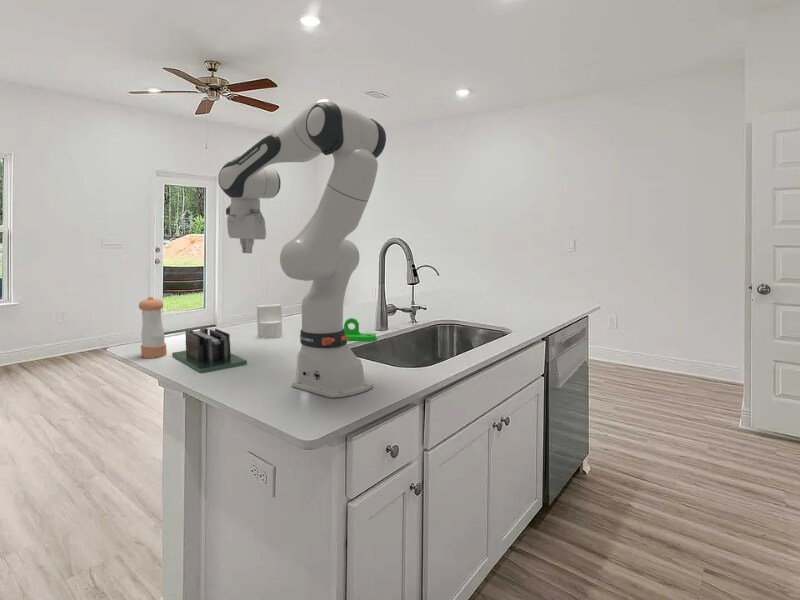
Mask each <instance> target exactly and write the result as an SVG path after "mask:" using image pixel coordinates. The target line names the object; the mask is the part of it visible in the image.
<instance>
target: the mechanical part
mask: <svg viewBox="0 0 800 600" xmlns="http://www.w3.org/2000/svg"><path fill="white" fill-rule="evenodd" d="M350 324H352V325H354V327H353V329H351V328H349V325H350ZM343 329H344V330H345V334H346V335H349V336H348V337H346V338H349V339H348V340H347V341H362V342H361V343H364V342H367V343H368V342H369V343H370V342H375V341H377V333H376V332H375V333H373V332H372V333H370V332H369V333H368V332H367V333H366V332H365V333H361V332H360V323H359V321H358V320H357V319H356V318H355V317H349V318H348V319H346V320H345V322H344V323H343Z"/></svg>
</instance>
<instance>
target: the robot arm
mask: <svg viewBox="0 0 800 600" xmlns="http://www.w3.org/2000/svg"><path fill="white" fill-rule="evenodd" d="M386 143H387V134H386V130H385V129H384V127H383V126H382V124H381V123H379V122H378V121H376V120H375V119H373V118H370V117H368V116H365V115H364V114H362V113H359V112H358V111H357V110H355V109H352V108H349V107H345V106H342V105H338V103H336V102H334V101H333V100H331V99H329V98H320V99H318V100H316V101H315V102H313V103H311V104H310V105H309V106H307V107H306V108H305V109H304V110H302V111H301V112H299V114H298V115H297V116H296V117H295V118H294V119H293V120H292V121H290V122H289V123H288V124H286V126H284V127H282V128H280V129H279V130H277V131H275V132H274V133H271V134H270V135H269V134H268V135H267V136H265V137H263V138H262V139H260V140H259V141H257V143H255V144H254V145H252V146H251V148H249V149H248V150H246V152H244V153H243V154H242V155H240V156H236V157H235V158H233V159H232V160H231V161H228V162H227V163H225V164H224V165H223V167H222V168H221V169H220V171H219V174H218V180H217V181H218V185H219V187H220V189H221V190H222V191H223V193H224V194H225V195H226V196H228V198H230V204H229V205H228V206H227V207H226V209H225V215H226V216H227V219H226V224H227V225H226V226H227V234H228V236H229V238H230V239H239V244H240V246H241V253H243V254H253V246H254V244H255V240H265V239H266V237H267V230H266V221H265V220H266V219H265V217H264V215H263V213H262V212H261V199H272V198H275V197H276V196H277V195H278V194H279V192H280V190H281V177H280V174H279V173H278V171H277V170H276V169H274V167H269V166H271V165H274V164H282V163H306V162H309V161H312V160H313V159H315V158H317V157H319V156H320V155H321V154H323V155H325V156H330V155H332V157H333V163H334V164H333V168H332V171H331V174H330V176H329V178H328V181H327V184H326V186H325V189H324V191H323V194H322V196H321V199H320V200H319V201H320V202H319V204H318V206H317V208H316V210H315V212H314V214H313V215H312V217H311V218H310V219H309V220H308V222H307V224H306V225H305V226H304V227H303V228H302V230H301V231H300V232H299V233H298V234H297V235H296V236H295V237H294V238H293V239H292V240H290V241H289V242H286V243H285V245H283V247H282V249H281V251H280V255H279V263H280V267H281V269H282V271H283V273H284V274H285V276H287V277H288V278H290V279H293V280H297V281H305V282H309V281H312V283H311V287H310V288H309V291H308V292H307V293H306V295H305V296H304V297H303V298H302V300H301V301H302V302H301V329H300V334H299V340H300V344H301V347H300V350H299V352H298V353H297V357H296V367H295V369H296V370H295V371H296V372H295V379H294V380H293V381H292V382H291V383H292V384H291V386H292V387H293V388H296V389H299V390H303V391H306V392H309V393H313V394H316V395H320V396H323V397H327V398H331V399H332V398H334V399H335V398H342V397H348V396H353V395H356V394H357V395H358V394H361V393H363V392H366V391H369V390H371V389H372V388H373V387H374V384H373V382H371V381H370V380H368V379H367V378H365V375H364V366H363V363H362V360H361V359H360V358H358V357H357V356H356V354H355V353H354V352H353V351H352V349H350V347H349V346H348V342H347V340H348V339H349V338H346V337H348V336H349V335H346V334H345V330H344V301H345V295H346V292H347V289H348V284H349V281H350V278H351V276H352V274H353V273H354V271H356V269H357V267H358V266H359V263H360V258H361V256H360V252H359V249H358V247H357V245H356V244H355V243H354V242H352V241H350V240H349V239H346V238H347V237H348V236H349V235H350V234H351V233H352V232H354V231H355V230H356V229H357V228H358V226H359V223H360V222H361V220H362V217H363V214H364V212H365V209H366V207H367V204H368V202H369V199H370V198H371V195H372V191H373V189H374V185H375V182H376V177H377V173H378V168H379V163H378V160H377V158H379V157H380V155H381V154H382V153H383V151H384V150H385V147H386Z"/></svg>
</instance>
